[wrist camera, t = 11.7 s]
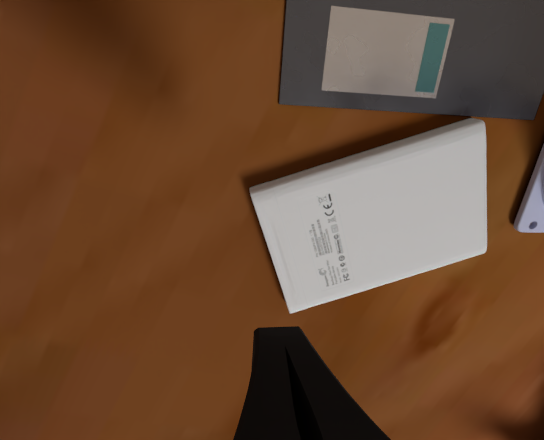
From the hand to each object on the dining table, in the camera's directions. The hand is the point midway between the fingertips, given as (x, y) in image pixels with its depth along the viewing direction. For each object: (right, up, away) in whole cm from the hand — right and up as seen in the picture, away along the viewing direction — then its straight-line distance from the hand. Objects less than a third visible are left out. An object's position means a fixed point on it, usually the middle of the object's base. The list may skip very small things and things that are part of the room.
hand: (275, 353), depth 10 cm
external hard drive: (+6, +4, +10) cm, 12 cm away
